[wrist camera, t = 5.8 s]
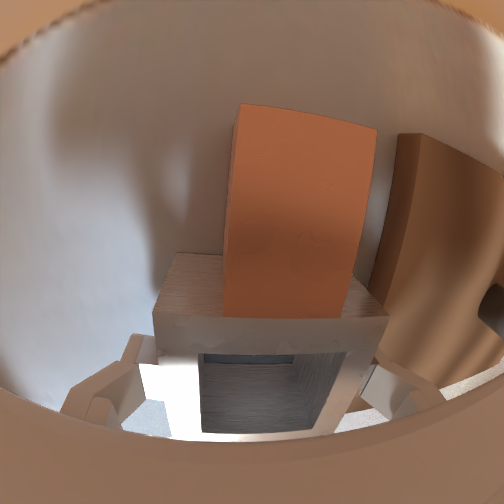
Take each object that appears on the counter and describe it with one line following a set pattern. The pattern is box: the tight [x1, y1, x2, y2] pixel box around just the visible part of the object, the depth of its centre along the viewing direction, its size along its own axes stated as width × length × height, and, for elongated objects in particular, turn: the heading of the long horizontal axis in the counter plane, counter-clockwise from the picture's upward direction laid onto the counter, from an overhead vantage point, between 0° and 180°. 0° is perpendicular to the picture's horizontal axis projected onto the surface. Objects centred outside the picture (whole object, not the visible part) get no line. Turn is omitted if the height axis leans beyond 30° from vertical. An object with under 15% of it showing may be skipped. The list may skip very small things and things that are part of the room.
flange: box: [152, 104, 391, 442], centre depth 9 cm, size 11×6×4 cm, turn 174°
